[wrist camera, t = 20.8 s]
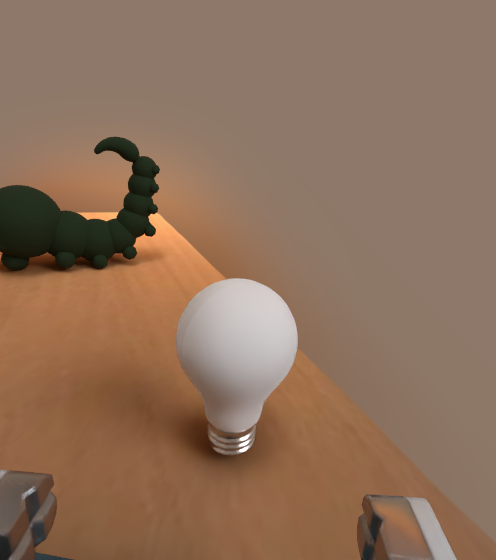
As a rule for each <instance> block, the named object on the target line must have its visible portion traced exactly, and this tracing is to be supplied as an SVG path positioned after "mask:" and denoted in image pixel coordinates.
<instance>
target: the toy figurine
mask: <svg viewBox="0 0 496 560" xmlns="http://www.w3.org/2000/svg"><path fill="white" fill-rule="evenodd" d="M103 151H113V152H116V153H118V154H119V155H120V156H121V157H122V158H124V159H125V160H127V161H129V162H133V165H132V171H133V175H132V176H131V177H130V178H129V182H128V189H129V191H130V192H129V193H128V194H127V195H126V196H125V198H124V208H123V209H122V210H121V211H120V212H119V213H118V215H117V218H116V219H111V220H109V221H104V220H100V219H90V220H87V219H86V218H84V217H83V216H82V215H80V214H78V213H75V212H71V211H60V209H59V207H58V206H57V204H56V203H55V202H54V201H53V200H52V199H51V198H50V197H49V196H48V195H46V194H45V193H43V192H41V191H39V190H37V189H35V188H31V187H28V186H23V185H13V186H7V187H4V188H1V189H0V252H2V253H3V254H2V257H1V260H2V263H3V265H4V266H5V267H7V268H8V269H11V270H22V269H23V268H25V267H26V266H27V265H28V263H29V259H30V258H31V257H37V256H40V255H43V254H45V253H47V252H48V253H49V254H51V255H52V256H54V257H55V259H56V262H57V265H58V266H60V267H62V268H64V269H65V268H70V267H72V266H73V265H74V264H75V262H76V259H77V258H80V257H83V258H85V259H87V260H90V261H92V263H93V265H94V266H95V267H96V268H103V267H105V266H107V263H108V260H107V259H109V258H111V257H112V256H113V255H114V254H115V253H122V254H123V257H125V258H127V259H132V258H135V256H136V254H137V252H136V249H135V247H133V245H134V244H135V242H136V238H137V237H140V236H142V235H143V234H144V233H145V235H146V236H151V237H152V236H153V235H154V234H155V232H156V229H155V228H154V226H152V225H151V223H150V222H149V218H148V216H149V215H150V214H155V213H156V212H157V210H158V208H157V206H156V205H154V204H153V200H152V198H151V197H152V196H153V195H154V193H157V191H158V190H159V187H158V185H157V184H156V182H155V180H154V177H155V176H156V174H158V173H159V170H160V169H159V167H158V166H157V165H156V164H155V162H154V161H153V160H152V159H151V158H149V157H145V156H141V157H140V156H139V151H138V148H137V147H136V145H135V144H134V143H132V142H131V141H129V140H127V139H125V138H120V137H109V138H106V139H104V140H102V141H101V142H100V143H98V145H97V146H96V147H95V149H94V152H95V153H96V154H99V153H101V152H103Z"/></svg>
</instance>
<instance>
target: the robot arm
mask: <svg viewBox="0 0 496 560" xmlns="http://www.w3.org/2000/svg"><path fill="white" fill-rule="evenodd" d="M53 485H54V482H53V477H52V475H51V474H44V473H34V472H23V471H13V470H0V560H35V558H36V556H35V547H36V546H37V545H39V544H40V543H41V542H42V541H44V540H45V539H46V538H47V536H48V534H49V532H50V530H51V528H52V525H53V522H54V519H55V516H56V510H57V500H56V496H55V495H54V494H53V493H52V492H51V491H50V490H51V488H52V487H53ZM362 507H363V511H364V514H362V515H361V516H360V517H359V519H358V525H357V541H358V548H359V552H360V557H361V560H457V559H456V557H455V555H454V553H453V551H452V549H451V547H450V545H449V543H448V541H447V539H446V537H445V535H444V533H443V531H442V529H441V527H440V525H439V523H438V521H437V518H436V516H435V514H434V512H433V510H432V508H431V506H430V504H429V502H428V501H427V500H426V499H425V498H413V497H403V496H386V495H367V494H366V495H365V496H364V498H363V502H362Z"/></svg>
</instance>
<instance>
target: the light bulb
mask: <svg viewBox="0 0 496 560" xmlns="http://www.w3.org/2000/svg"><path fill="white" fill-rule="evenodd" d="M176 347H177V354H178V358H179V361H180V363H181V366H182V368H183V370H184V372H185V373H186V375H187V376H188V378H189V379H190V380H191V382H192V383H193V384H194V386H195V387H196V388H197V390H198V391H199V393H200V394H201V396H202V398H203V401H204V410H205V414H206V417H207V419H208V428H207V429H208V432H207V435H208V437H209V441H210V443H211V446H212V448H213V449H214V450H215V451H216V453H219V454H222V455H225V456H236V455H239V454H243V453H245V452H246V451H248V450H249V449H250V448H251V447H252V446H253V444H254V442H255V440H256V438H255V435H256V423H257V421H258V420H259V417H260V415H261V412H262V407H263V403H264V402H265V400H266V398H267V397H268V396H269V395H270V393H271V392H272V391H273V390H274V389H275V388H276V387H277V386H278V385H279V384H280V383H281V382H282V380H283V379H284V378H285V377H286V375H287V374H288V373H289V371H290V369H291V367H292V365H293V362H294V359H295V355H296V351H297V329H296V324H295V321H294V318H293V316H292V314H291V311H290V310H289V307H288V306H287V305H286V303H285V302H284V301H283V299H282V298H281V297H280V296H279V295H278V294H277V293H275V292H274V291H273V290H271V289H270V288H268V287H267V286H265V285H263V284H260V283H258V282H255V281H252V280H248V279H226V280H222V281H219V282H216V283H213V284H211V285H209V286H207V287H206V288H204V289H203V290H201V291H200V292H199V293H197V294H196V295H195V296H194V297H193V298H192V299H191V300H190V302H189V303H188V305H187V306H186V308H185V310H184V311H183V313H182V315H181V317H180V320H179V323H178V327H177V335H176Z"/></svg>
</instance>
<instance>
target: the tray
mask: <svg viewBox="0 0 496 560" xmlns="http://www.w3.org/2000/svg"><path fill="white" fill-rule="evenodd" d="M35 556H36V558H35V560H72V559H67V558H62V557H56V556H51V555H46V554H40V553H35Z"/></svg>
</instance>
